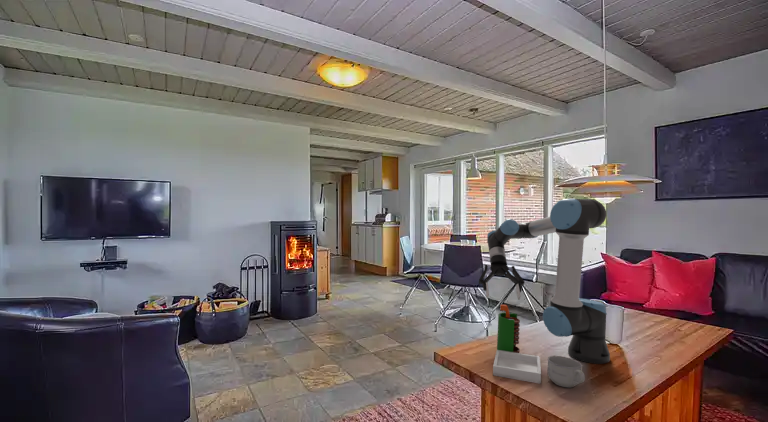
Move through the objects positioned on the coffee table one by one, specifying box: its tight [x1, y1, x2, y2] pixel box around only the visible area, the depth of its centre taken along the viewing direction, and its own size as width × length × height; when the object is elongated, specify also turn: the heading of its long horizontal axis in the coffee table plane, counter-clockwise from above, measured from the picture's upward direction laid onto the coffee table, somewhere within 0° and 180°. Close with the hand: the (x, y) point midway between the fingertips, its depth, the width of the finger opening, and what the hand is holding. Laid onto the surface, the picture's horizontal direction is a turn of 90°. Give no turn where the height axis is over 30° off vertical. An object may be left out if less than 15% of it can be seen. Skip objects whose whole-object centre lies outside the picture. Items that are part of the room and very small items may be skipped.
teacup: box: [546, 355, 586, 388], centre depth 128 cm, size 14×11×8 cm
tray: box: [492, 349, 542, 384], centre depth 140 cm, size 16×16×4 cm
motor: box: [496, 304, 521, 353], centre depth 156 cm, size 10×9×20 cm
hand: (503, 297), depth 166 cm, fingers open, 13 cm apart
